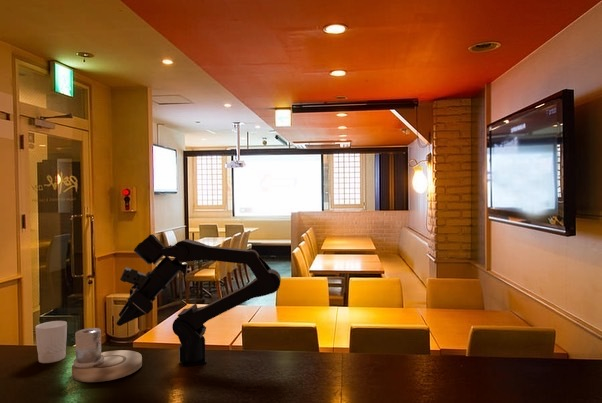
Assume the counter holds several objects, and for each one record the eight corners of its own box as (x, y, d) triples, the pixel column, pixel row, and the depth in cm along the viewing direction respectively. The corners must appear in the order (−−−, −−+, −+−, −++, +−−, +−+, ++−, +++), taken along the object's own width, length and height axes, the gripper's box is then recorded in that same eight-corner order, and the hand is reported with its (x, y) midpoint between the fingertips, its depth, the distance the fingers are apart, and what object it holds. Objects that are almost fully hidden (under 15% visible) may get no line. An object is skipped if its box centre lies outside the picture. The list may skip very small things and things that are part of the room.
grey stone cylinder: (105, 357, 119) (104, 325, 119) (102, 366, 112) (101, 333, 112) (75, 361, 116) (75, 329, 116) (71, 370, 110) (70, 336, 110)
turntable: (142, 355, 126) (142, 347, 126) (141, 377, 110) (141, 367, 110) (77, 364, 121) (77, 355, 121) (66, 388, 105) (66, 378, 105)
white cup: (53, 365, 121) (52, 329, 121) (29, 363, 122) (28, 327, 122) (73, 355, 128) (73, 321, 128) (50, 353, 130) (50, 320, 130)
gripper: (139, 253, 127) (98, 294, 124) (137, 261, 110) (90, 309, 106) (168, 278, 130) (129, 319, 126) (171, 289, 112) (125, 337, 109)
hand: (118, 320), depth 117 cm, fingers open, 9 cm apart
